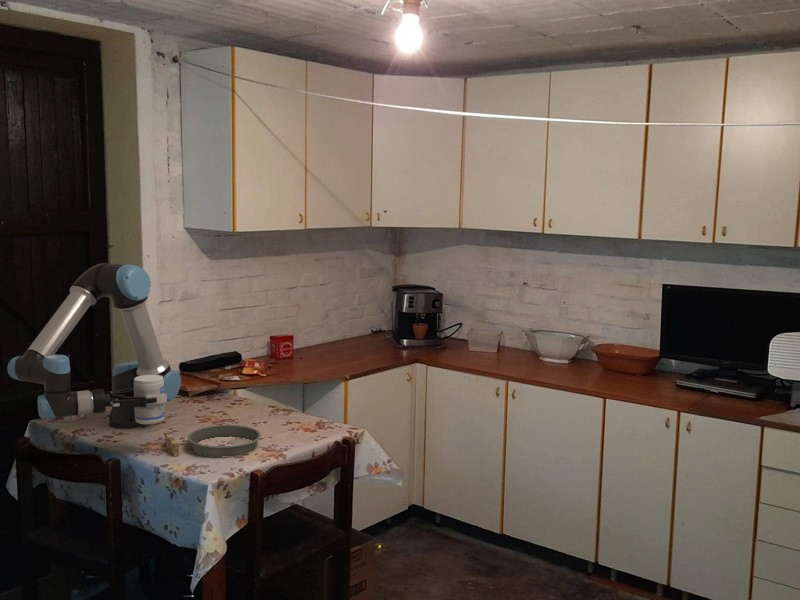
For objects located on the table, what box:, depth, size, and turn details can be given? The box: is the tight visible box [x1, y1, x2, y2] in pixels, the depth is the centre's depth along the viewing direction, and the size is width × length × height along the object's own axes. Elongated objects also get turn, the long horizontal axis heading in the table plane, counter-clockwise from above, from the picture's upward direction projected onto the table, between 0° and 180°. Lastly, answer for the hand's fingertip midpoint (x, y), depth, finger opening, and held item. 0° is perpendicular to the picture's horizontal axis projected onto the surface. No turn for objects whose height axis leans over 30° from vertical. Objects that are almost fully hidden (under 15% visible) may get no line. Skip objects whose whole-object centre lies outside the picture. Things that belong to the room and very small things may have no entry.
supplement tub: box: [134, 375, 166, 425], centre depth 256 cm, size 10×10×15 cm
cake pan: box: [187, 424, 262, 458], centre depth 266 cm, size 25×25×4 cm
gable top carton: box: [63, 414, 87, 423], centre depth 293 cm, size 4×7×10 cm, turn 151°
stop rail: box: [164, 432, 180, 457], centre depth 261 cm, size 14×2×4 cm, turn 29°
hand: (163, 394), depth 258 cm, fingers closed on supplement tub, 9 cm apart
